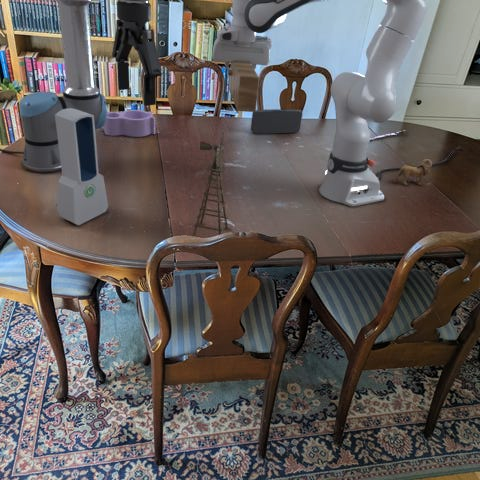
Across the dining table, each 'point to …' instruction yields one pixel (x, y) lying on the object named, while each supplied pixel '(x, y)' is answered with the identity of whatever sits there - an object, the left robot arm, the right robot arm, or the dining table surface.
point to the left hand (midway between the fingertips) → (136, 97)
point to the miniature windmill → (215, 168)
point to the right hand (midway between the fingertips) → (239, 76)
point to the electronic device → (79, 168)
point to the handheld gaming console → (276, 121)
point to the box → (244, 86)
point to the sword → (386, 135)
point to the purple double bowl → (130, 123)
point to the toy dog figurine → (415, 171)
